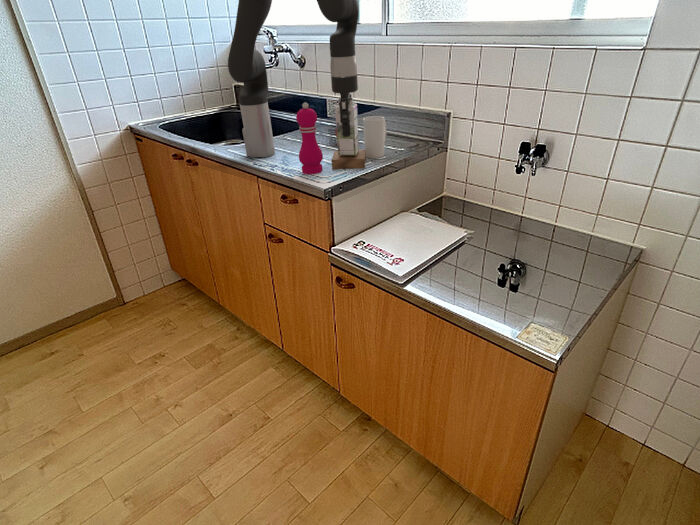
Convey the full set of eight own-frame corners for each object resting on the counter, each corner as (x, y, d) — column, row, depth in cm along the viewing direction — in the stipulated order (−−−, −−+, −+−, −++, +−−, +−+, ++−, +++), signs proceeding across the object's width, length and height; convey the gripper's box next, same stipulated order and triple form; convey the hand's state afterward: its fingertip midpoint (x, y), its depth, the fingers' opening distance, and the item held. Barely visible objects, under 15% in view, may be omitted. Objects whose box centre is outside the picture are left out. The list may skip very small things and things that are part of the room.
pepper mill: (324, 167, 133) (318, 99, 123) (323, 174, 127) (317, 103, 117) (301, 168, 133) (293, 101, 123) (299, 176, 127) (291, 105, 117)
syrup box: (359, 150, 134) (357, 102, 127) (356, 156, 129) (353, 106, 122) (341, 150, 136) (338, 103, 128) (337, 156, 131) (334, 106, 123)
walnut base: (332, 169, 130) (331, 159, 129) (335, 160, 139) (334, 150, 137) (364, 168, 129) (364, 158, 128) (365, 158, 138) (365, 149, 136)
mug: (376, 160, 136) (375, 121, 130) (360, 157, 140) (358, 119, 134) (394, 152, 143) (394, 115, 137) (378, 149, 147) (377, 113, 141)
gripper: (333, 71, 128) (337, 128, 136) (328, 77, 115) (332, 140, 124) (358, 70, 127) (360, 127, 135) (355, 76, 115) (358, 139, 123)
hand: (347, 133), depth 129 cm, fingers closed on syrup box, 6 cm apart
